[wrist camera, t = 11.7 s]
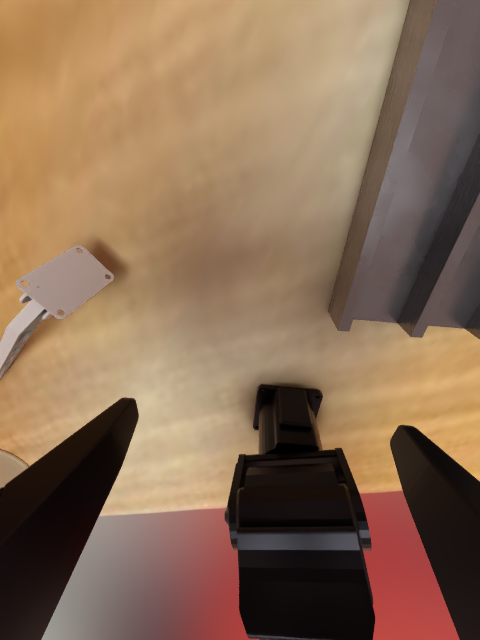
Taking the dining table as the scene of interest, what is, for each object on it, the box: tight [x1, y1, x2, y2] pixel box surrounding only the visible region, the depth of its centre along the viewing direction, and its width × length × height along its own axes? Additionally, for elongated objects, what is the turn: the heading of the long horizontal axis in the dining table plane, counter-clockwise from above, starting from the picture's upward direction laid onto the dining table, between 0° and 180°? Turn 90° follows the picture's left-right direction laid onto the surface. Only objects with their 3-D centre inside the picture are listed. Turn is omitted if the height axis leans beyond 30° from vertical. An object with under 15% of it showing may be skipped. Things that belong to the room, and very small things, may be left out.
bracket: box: [0, 245, 114, 379], centre depth 22 cm, size 3×21×10 cm, turn 129°
